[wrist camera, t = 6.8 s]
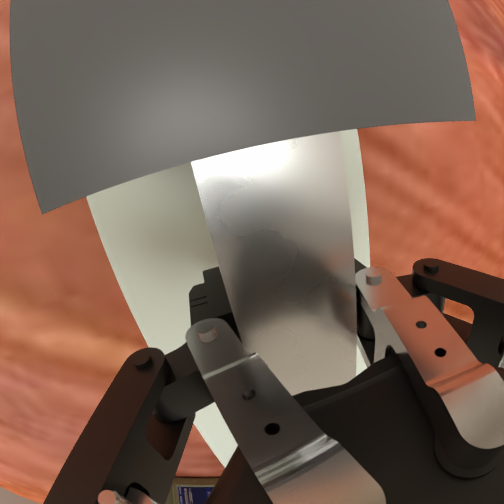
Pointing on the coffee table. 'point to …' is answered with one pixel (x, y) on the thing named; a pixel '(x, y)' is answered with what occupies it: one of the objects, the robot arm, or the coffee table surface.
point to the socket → (217, 79)
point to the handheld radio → (190, 490)
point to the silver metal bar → (287, 255)
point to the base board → (187, 257)
